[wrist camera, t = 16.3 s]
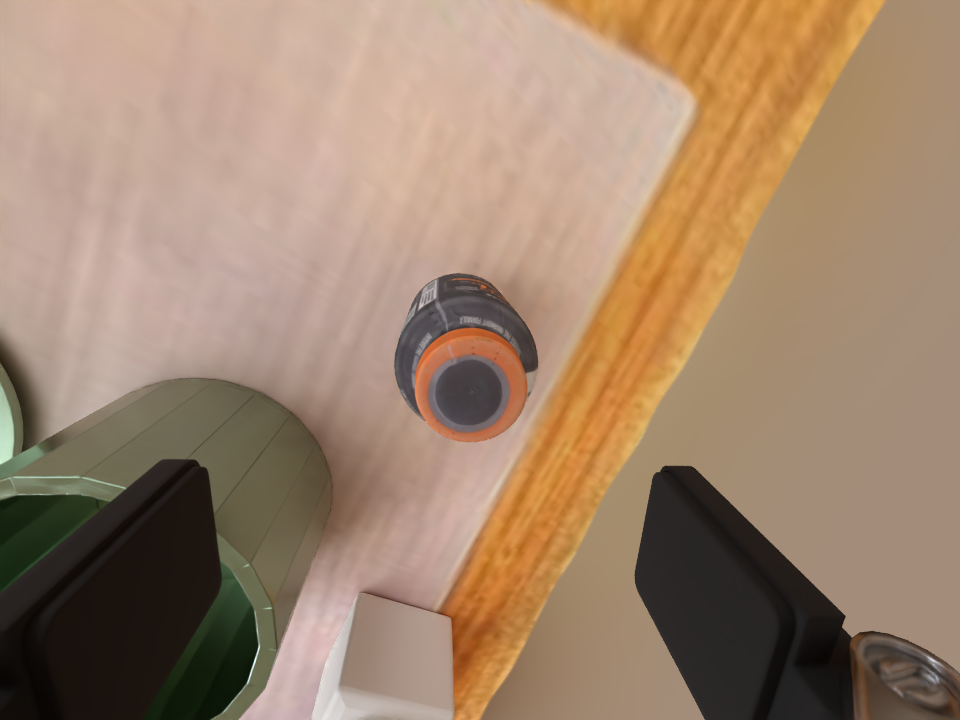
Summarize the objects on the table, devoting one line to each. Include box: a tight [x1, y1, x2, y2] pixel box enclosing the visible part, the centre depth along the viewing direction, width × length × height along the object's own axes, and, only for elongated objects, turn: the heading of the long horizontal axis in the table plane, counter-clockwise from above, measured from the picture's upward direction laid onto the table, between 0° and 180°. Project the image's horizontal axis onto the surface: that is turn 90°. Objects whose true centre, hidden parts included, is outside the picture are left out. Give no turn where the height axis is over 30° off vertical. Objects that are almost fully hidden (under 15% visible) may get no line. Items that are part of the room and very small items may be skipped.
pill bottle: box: [394, 273, 538, 442], centre depth 21 cm, size 6×6×11 cm
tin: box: [0, 378, 332, 720], centre depth 23 cm, size 15×15×10 cm
